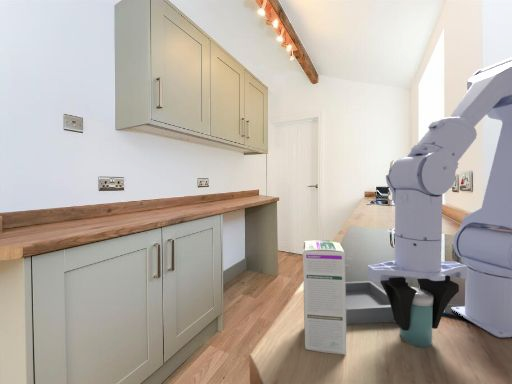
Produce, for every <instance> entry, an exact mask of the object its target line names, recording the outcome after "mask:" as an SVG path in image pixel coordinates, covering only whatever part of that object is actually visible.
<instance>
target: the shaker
mask: <svg viewBox="0 0 512 384" xmlns="http://www.w3.org/2000/svg"><path fill="white" fill-rule="evenodd" d="M410 287H411V288H413V289H415V290H416V291H417V293H416V294H415V296H414V299H413V302H412V306H411V312H410V326H409V330H407V331H404V330H402V329H401V328H400V327H399V336H400V337H401V338H402V340H404V341H405V342H407V343H408V344H410V345H413V346H415V347H418V348H419V347H420V348H429V347H431V346H432V345H433V328H432V318H433V295H432V294H431V293H430V292H428V291H426V290H423V289H420V288H419V287H415V286H410Z"/></svg>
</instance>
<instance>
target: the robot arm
mask: <svg viewBox="0 0 512 384" xmlns="http://www.w3.org/2000/svg"><path fill="white" fill-rule="evenodd" d="M466 87H467V88H466V89H467V91H466V92H465V93H464V95H463V97H462V98H461V100H460V101H459V102H458V104H457V106H456V107H455V108H454V110H453V112H452V113H451V114H450V116H449V117H443V118H441V119H438V120H435V121H432V122H431V123H430V124H429V125H428V130H427V132H426V133H425V134H424V135H423V137H421V139H420V140H419V141H418V143H417V144H414V145H413V147H412V148H411V149H410V152H409V153H408V154H407V156H405V157H402V158H398V159H397V160H396V161H395V162H393V164H392V165H391V166H390V168H389V171H388V174H387V175H385V180H386V181H385V182H386V184H387V187H388V188H389V189H390V192H391V201H393V203H394V205H395V207H394V209H395V210H394V211H395V212H394V215H395V216H394V260H389V261H385V262H381V263H375V264H369V265H368V264H367V265H366V278H367V279H368V280H369V281H372V282H373V283H374V284H377V283H380V284H381V286H382V289H383V290H384V291H385V292H386V294H387V297H388V299H389V302H390V305H391V308H392V312H393V316H394V320H395V321H394V323H395V325H396V326H398V327H399V329H400V328H401V329H402V330H404V331H407V330H409V326H410V312H411V306H412V302H413V299H414V296H415V294H416V293H417V291H416V290H415V289H413V288H411V287H412V286H409V283H408V282H407V281H406V280H417V282H418V288H420V289H423V290H426V291H428V292H430V293H431V294H432V295H433V318H432V330H435V329H438V328H439V325H440V323H441V319H442V317H443V315H444V312H445V311H446V308H447V307H448V304H450V302H451V300H453V298H454V297H455V295H457V294H458V293H459V292H460V285H459V284H458V283H456V282H455V281H452V280H451V278H458V279H459V280H460V279H462V280H463V279H465V288H464V289H465V291H464V293H465V295H464V306H452V307H451V308H450V309H452V310H453V312H454V311H455V312H454V313H456V312H457V313H458V315H459V314H460V315H459V316H461V317H462V316H463V318H464V319H466V320H467V321H469V322H471V323H473V324H474V325H476V326H478V327H479V328H481V329H482V330H485V332H488V333H489V334H491V335H493V336H495V337H497V338H502V339H503V338H511V337H512V57H510V58H507V59H505V60H501V61H500V62H497V63H495V64H492V65H490V66H487V67H482V68H480V69H478V70H476V71H475V72H473V74H472V76H471V77H470V78H469V79H468V80H467V82H466ZM485 116H487V117H488V118H490V119H493V120H498V121H501V123H502V125H501V129H500V133H499V137H498V141H497V144H496V148H495V153H494V155H493V161H492V165H491V168H490V173H489V177H488V179H487V184H486V188H485V192H484V196H483V200H482V205H481V208H479V209H477V210H475V211H473V212H471V213H469V214H467V215H465V216H463V217H462V221H461V224H460V226H459V228H458V229H457V230H456V232H455V233H454V235H453V239H452V247H453V250H454V253H455V254H456V256H458V257H459V258H460V260H461V262H458V261H444V260H443V261H442V242H443V240H442V237H443V236H442V234H443V233H442V231H443V229H442V228H443V195H444V194H445V193H447V192H448V191H449V190H450V189H451V188H453V186H454V183H455V180H456V171H457V169H458V168H459V166H458V165H459V161H460V159H461V158H462V157H463V156H464V154H465V153H466V152H467V150H468V149H469V148H470V147H471V145H472V144H473V143H474V141H476V139H477V135H478V134H477V129H476V128H475V127H476V126H477V124H478V123H479V122H481V120H483V118H484V117H485ZM452 310H451V311H452ZM457 313H456V314H457Z"/></svg>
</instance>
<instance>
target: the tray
mask: <svg viewBox="0 0 512 384" xmlns="http://www.w3.org/2000/svg"><path fill="white" fill-rule="evenodd" d="M345 289H346V325H357V324H359V325H360V324H370V323H371V324H375V323H385V322H386V323H387V322H395V320H394V316H393V312H392V308H391V305H390V302H389V299H388V297H387V294H386V292H385V290H384V288H381V287H380V286H378V285H377V283H374V282H373V281H371V280H363V281H362V280H361V281H360V280H359V281H345Z"/></svg>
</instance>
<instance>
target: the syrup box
mask: <svg viewBox="0 0 512 384" xmlns="http://www.w3.org/2000/svg"><path fill="white" fill-rule="evenodd" d="M302 262H303V263H302V268H303V269H302V271H303V316H304V317H303V318H304V319H303V320H304V321H303V322H304V323H303V324H304V329H303V330H304V348H305V350H307V351H308V350H309V351H313V352H318V353H320V352H321V353H327V354H328V353H329V354H336V355H345V356H346V354H347V324H346V289H345V282H346V253H345V251H344V248H343V247H342V245H341V243H340V242H339V241H335V240H327V239H317V240H316V239H315V240H314V239H313V240H304V241H303V246H302Z"/></svg>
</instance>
